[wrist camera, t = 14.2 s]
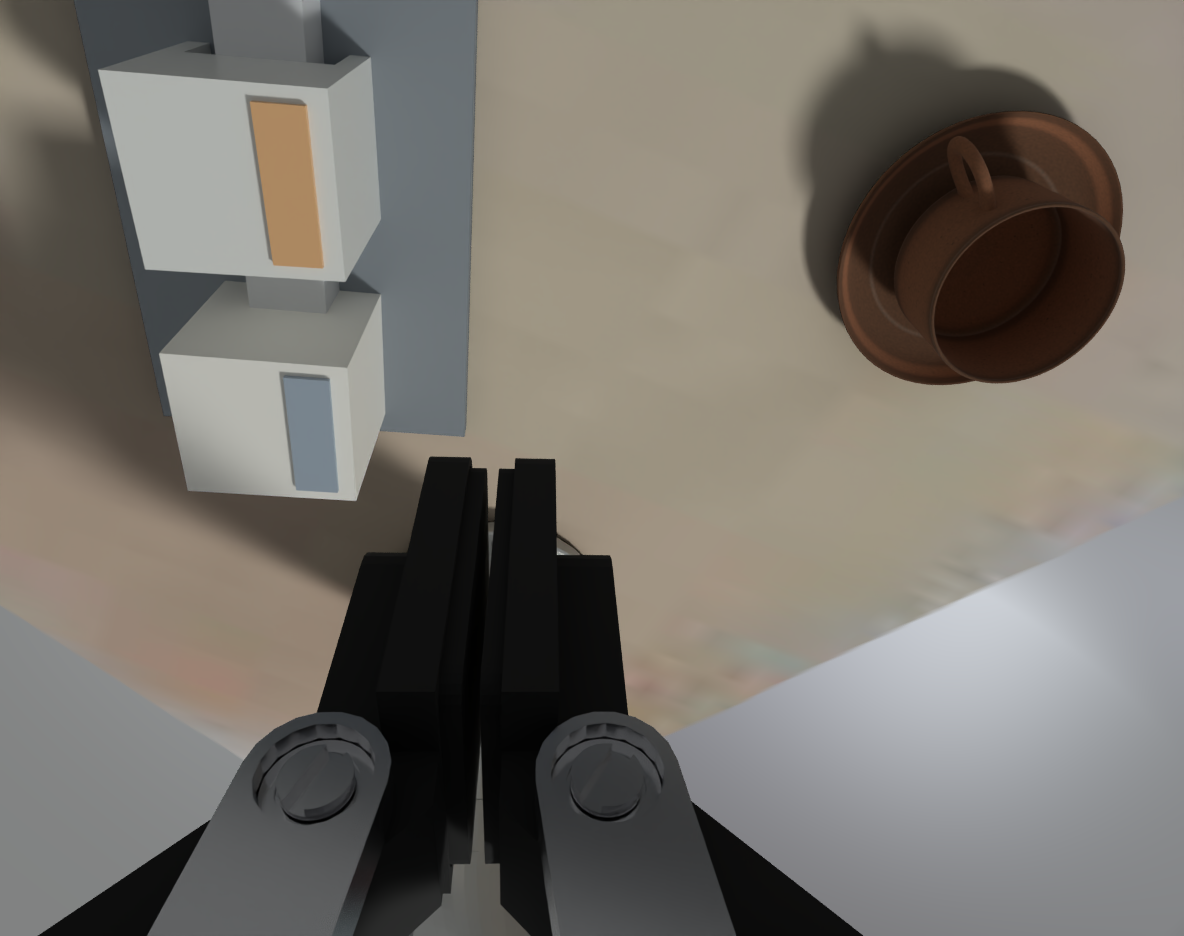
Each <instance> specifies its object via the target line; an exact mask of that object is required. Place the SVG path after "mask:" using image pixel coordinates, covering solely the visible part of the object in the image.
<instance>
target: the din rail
mask: <svg viewBox="0 0 1184 936" xmlns="http://www.w3.org/2000/svg"><path fill="white" fill-rule="evenodd" d="M74 4H75V8H76V13H77V18H78V22H79V27H80V31H81V36H82V41H83V45H84V50H85V55H86V59H87V64H88V68H89V73H90V78H91V82H92V87H93V91H94V96H95V101H96V105H97V110H98V115H99V119H100V124H101V128H102V133H103V138H104V142H105V147H106V151H107V156H108V161H109V165H110V170H111V175H112V179H113V184H114V188H115V193H116V198H117V202H118V207H119V211H120V216H121V221H122V225H123V230H124V235H125V239H126V244H127V248H128V253H129V258H130V262H131V267H132V271H133V276H134V281H135V285H136V290H137V295H138V299H139V304H140V308H141V313H142V318H143V322H144V327H145V331H146V336H147V341H148V345H149V350H150V355H151V359H152V364H153V368H154V373H155V378H156V382H157V387H158V391H159V396H160V401H161V405H162V410H163V415H164V416H172V418H173V422H174V427H175V432H176V437H177V441H178V446H179V451H180V456H181V461H182V465H183V470H184V475H185V480H186V484H187V489H188V491H200V492H216V493H233V494H249V495H266V496H282V497H298V498H315V499H331V500H348V501H356V500H357V497H358V494H359V491H360V488H361V485H362V482H363V479H364V476H365V473H366V470H367V467H368V464H369V461H370V458H371V455H372V452H373V449H374V446H375V443H376V440H377V437H378V434H379V431H389V432H404V433H418V434H432V435H447V436H461V437H464V436H465V430H466V413H467V377H468V341H469V305H470V270H471V234H472V198H473V162H474V126H475V90H476V54H477V18H478V0H74ZM187 41H192V42H204V43H210V50H211V54H214V55H226V56H238V57H250V58H261V59H273V60H285V61H297V62H308V63H320V64H332V65H335V64H337V63H339V62H340V61H342V60H343V59H345V58H346V57H348V56H349V55H355V56H366V57H371V69H372V85H373V101H374V117H375V133H376V148H377V164H378V180H379V196H380V211H381V220H380V222H379V224H378V225H377V227H376V229H375V231H374V232H373V234H372V236H371V238H370V239H369V241H368V243H367V245H366V246H365V248H364V250H363V252H362V254H361V255H360V257H359V259H358V261H357V262H356V264H355V266H354V268H353V269H352V271H351V273H350V275H349V276H348V278H347V280H346V282H338V281H322V280H306V279H290V278H274V277H258V276H242V275H226V274H210V273H194V272H178V271H162V270H146V269H145V267H144V263H143V258H142V254H141V250H140V246H139V241H138V237H137V233H136V229H135V224H134V220H133V216H132V212H131V208H130V203H129V199H128V195H127V191H126V186H125V182H124V178H123V174H122V169H121V165H120V161H119V157H118V153H117V148H116V144H115V140H114V136H113V131H112V127H111V123H110V119H109V115H108V110H107V106H106V102H105V98H104V93H103V89H102V85H101V81H100V76H99V72H98V69H102V68H105V67H108V66H111V65H114V64H117V63H121V62H124V61H127V60H130V59H133V58H136V57H139V56H143V55H146V54H149V53H152V52H155V51H158V50H162V49H165V48H168V47H171V46H174V45H177V44H180V43H184V42H187Z"/></svg>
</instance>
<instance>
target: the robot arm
mask: <svg viewBox="0 0 1184 936" xmlns="http://www.w3.org/2000/svg"><path fill="white" fill-rule="evenodd" d="M38 936H863V935H862V934H860V933H859V932H858V931H856V930H855V929H854V928H853V927H852V926H850V925H849V924H848V923H846V922H845V921H844V920H842V919H841V918H840V917H839V916H837V915H836V914H835V913H834V912H832V911H831V910H830V909H829V908H827V907H826V906H825V905H823V904H822V903H821V902H819V901H818V900H817V899H816V898H814V897H813V896H812V895H811V894H809V893H808V892H807V891H805V890H804V889H803V888H802V887H800V886H799V885H798V884H796V883H795V882H794V881H793V880H791V879H790V878H789V877H788V876H786V875H785V874H784V873H782V872H781V871H780V870H778V869H777V868H776V867H775V866H773V865H772V864H771V863H770V862H768V861H767V860H766V859H765V858H763V857H762V856H761V855H759V854H758V853H757V852H755V851H754V850H753V849H752V848H750V847H749V846H748V845H747V844H745V843H744V842H743V841H741V840H740V839H739V838H738V837H736V836H735V835H734V834H733V833H731V832H730V831H729V830H727V829H726V828H725V827H724V826H722V825H721V824H720V823H718V822H717V821H716V820H715V819H713V818H712V817H711V816H709V815H708V814H707V813H706V812H704V811H703V810H701V808H699V807H698V806H697V805H695V804H694V803H693V802H692V801H691V799H690V796H689V793H688V790H687V787H686V784H685V781H684V778H683V775H682V772H681V769H680V766H679V763H678V760H677V758H676V756H675V754H674V752H673V750H672V749H671V747H670V745H669V743H668V742H667V741H666V740H665V739H664V738H663V737H662V736H661V735H660V734H659V733H658V732H657V731H656V730H655V729H654V728H653V727H652V726H650V725H648V724H646V723H645V722H643V721H641V720H639V719H637V718H636V717H632V716H629V715H628V709H627V699H626V690H625V680H624V671H623V661H622V652H621V642H620V633H619V623H618V614H617V605H616V595H615V586H614V576H613V567H612V560H611V557H610V555H580V554H579V553H578V552H577V551H576V550H575V549H574V548H572V547H571V546H569V545H568V544H566V543H565V542H563V541H562V540H560V539H559V538H557V529H556V470H555V459H521V458H516V459H515V469H499V476H498V487H497V498H496V509H495V520H494V522H488V486H487V469H486V468H472V459H471V457H430V458H429V460H428V464H427V469H426V473H425V477H424V482H423V486H422V491H421V495H420V499H419V504H418V508H417V513H416V517H415V521H414V526H413V530H412V535H411V539H410V543H409V548H408V552H407V553H376V552H368V553H367V554H366V555H365V556H364V558H363V560H362V563H361V566H360V569H359V573H358V576H357V579H356V583H355V586H354V589H353V593H352V596H351V600H350V603H349V606H348V610H347V613H346V616H345V620H344V623H343V626H342V630H341V633H340V637H339V640H338V643H337V647H336V650H335V653H334V657H333V660H332V663H331V667H330V670H329V674H328V677H327V680H326V684H325V687H324V690H323V694H322V697H321V700H320V704H319V707H318V710H317V713H314V714H310V715H306V716H302V717H298V718H295V719H293V720H291V721H289V722H287V723H285V724H283V725H281V726H279V727H277V728H275V729H274V730H273V731H271V732H270V733H269V734H268V735H266V736H265V737H264V738H263V739H262V740H260V741H259V742H258V743H257V744H256V745H255V746H254V747H253V749H252V750H251V751H250V753H249V754H248V755H247V757H246V758H245V760H244V761H243V762H242V764H241V766H240V768H239V769H238V771H237V773H236V775H235V777H234V779H233V780H232V782H231V784H230V786H229V788H228V789H227V791H226V793H225V795H224V797H223V799H222V800H221V802H220V804H219V806H218V808H217V809H216V811H215V813H214V815H213V817H212V819H211V820H209V821H208V822H206V823H205V824H203V825H202V826H200V827H199V828H198V829H196V830H194V831H193V832H191V833H190V834H189V835H187V836H185V837H184V838H182V839H181V840H180V841H178V842H176V843H175V844H174V845H172V846H171V847H169V848H168V849H166V850H165V851H163V852H162V853H160V854H159V855H157V856H156V857H154V858H153V859H151V860H150V861H148V862H147V863H145V864H144V865H142V866H141V867H139V868H138V869H137V870H135V871H133V872H132V873H131V874H129V875H127V876H126V877H125V878H123V879H121V880H120V881H119V882H117V883H116V884H114V885H113V886H111V887H110V888H108V889H107V890H105V891H104V892H102V893H101V894H99V895H98V896H96V897H95V898H93V899H92V900H90V901H89V902H87V903H86V904H84V905H83V906H81V907H80V908H78V909H77V910H75V911H74V912H72V913H71V914H69V915H68V916H67V917H65V918H64V919H62V920H61V921H59V922H58V923H56V924H55V925H53V926H52V927H50V928H49V929H47V930H46V931H44V932H43V933H41V934H40V935H38Z"/></svg>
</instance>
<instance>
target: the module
mask: <svg viewBox="0 0 1184 936" xmlns="http://www.w3.org/2000/svg"><path fill="white" fill-rule="evenodd" d="M98 72H99V76H100V81H101V85H102V89H103V93H104V98H105V102H106V106H107V110H108V115H109V119H110V123H111V127H112V131H113V136H114V140H115V144H116V148H117V153H118V157H119V161H120V165H121V169H122V174H123V178H124V182H125V186H126V191H127V195H128V199H129V203H130V208H131V212H132V216H133V220H134V224H135V229H136V233H137V237H138V241H139V246H140V250H141V254H142V258H143V263H144V267H145V269H146V270H162V271H178V272H194V273H210V274H226V275H242V276H258V277H274V278H290V279H306V280H322V281H338V282H346V280H347V278H348V276H349V275H350V273H351V271H352V269H353V268H354V266H355V264H356V262H357V261H358V259H359V257H360V255H361V254H362V252H363V250H364V248H365V246H366V245H367V243H368V241H369V239H370V238H371V236H372V234H373V232H374V231H375V229H376V227H377V225H378V224H379V222H380V220H381V211H380V196H379V180H378V164H377V148H376V133H375V117H374V101H373V85H372V69H371V57H366V56H355V55H349V56H348V57H346V58H345V59H343V60H342V61H340V62H339V63H337V64H335V65H332V64H320V63H308V62H297V61H285V60H273V59H261V58H250V57H238V56H226V55H214V54H211V50H210V43H204V42H192V41H187V42H184V43H180V44H177V45H174V46H171V47H168V48H165V49H162V50H158V51H155V52H152V53H149V54H146V55H143V56H139V57H136V58H133V59H130V60H127V61H124V62H121V63H117V64H114V65H111V66H108V67H105V68H102V69H98Z"/></svg>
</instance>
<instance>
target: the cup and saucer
mask: <svg viewBox="0 0 1184 936" xmlns="http://www.w3.org/2000/svg"><path fill="white" fill-rule="evenodd" d="M1122 216H1123V202H1122V192H1121V186H1120V182H1119V179H1118V175H1117V172H1116V170H1115V168H1114V165H1113V163H1112V161H1111V159H1110V158H1109V156H1108V154H1107V153H1106V151H1105V150H1104V148H1103V147H1102V146H1101V145H1100V144H1099V143H1098V141H1097V140H1096V139H1095V138H1093V137H1092V136H1091V135H1090V134H1089V133H1088V132H1086V131H1085V130H1084V129H1082V128H1081V127H1079V126H1078V125H1076V124H1074V123H1072V122H1070V121H1068V120H1066V119H1063V118H1060V117H1057V116H1054V115H1050V114H1045V113H1040V112H1031V111H1006V112H998V113H990V114H986V115H981V116H977V117H973V118H970V119H967V120H964V121H961V122H958V123H956V124H954V125H951V126H949V127H947V128H945V129H943V130H941V131H939V132H937V133H935V134H933V135H931V136H930V137H928V138H927V139H925V140H924V141H922V142H920V143H919V144H917V145H916V146H915V147H913V148H912V149H911V150H909V151H908V152H907V153H905V154H904V155H903V156H902V157H901V158H900V159H898V160H897V161H896V162H895V163H894V164H893V165H892V166H891V167H890V168H889V169H888V170H887V171H886V172H885V173H884V174H883V175H882V176H881V177H880V179H879V180H878V181H877V182H876V184H875V185H874V186H873V187H872V189H871V190H870V191H869V193H868V194H867V196H866V197H865V199H864V200H863V202H862V203H861V205H860V207H859V208H858V210H857V212H856V214H855V215H854V217H853V220H852V222H851V224H850V226H849V228H848V231H847V234H846V236H845V239H844V242H843V245H842V249H841V253H840V257H839V264H838V271H837V295H838V302H839V308H840V312H841V316H842V319H843V322H844V325H845V327H846V330H847V332H848V334H849V335H850V337H851V339H852V341H853V342H854V344H855V345H856V347H857V348H858V349H859V351H860V352H861V353H862V354H863V355H864V356H865V357H866V358H867V359H868V360H869V361H870V362H872V363H873V364H874V365H875V366H877V367H878V368H880V369H881V370H883V371H885V372H887V373H889V374H891V375H893V376H895V377H898V378H900V379H903V380H907V381H911V382H915V383H921V384H928V385H952V384H960V383H967V382H971V381H979V382H985V383H1010V382H1017V381H1021V380H1025V379H1029V378H1032V377H1035V376H1038V375H1040V374H1043V373H1045V372H1047V371H1049V370H1051V369H1053V368H1055V367H1057V366H1059V365H1060V364H1062V363H1063V362H1065V361H1066V360H1068V359H1069V358H1071V357H1072V356H1073V355H1075V354H1076V353H1077V352H1079V351H1080V350H1081V349H1082V348H1083V347H1084V346H1085V345H1086V344H1087V343H1088V342H1089V341H1090V340H1091V339H1092V338H1093V337H1094V336H1095V335H1096V334H1097V333H1098V331H1099V330H1100V329H1101V328H1102V326H1103V325H1104V324H1105V322H1106V321H1107V319H1108V318H1109V316H1110V314H1111V313H1112V311H1113V309H1114V307H1115V305H1116V303H1117V300H1118V298H1119V295H1120V292H1121V289H1122V285H1123V281H1124V274H1125V256H1124V250H1123V246H1122V243H1121V240H1120V233H1121V227H1122Z"/></svg>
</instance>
